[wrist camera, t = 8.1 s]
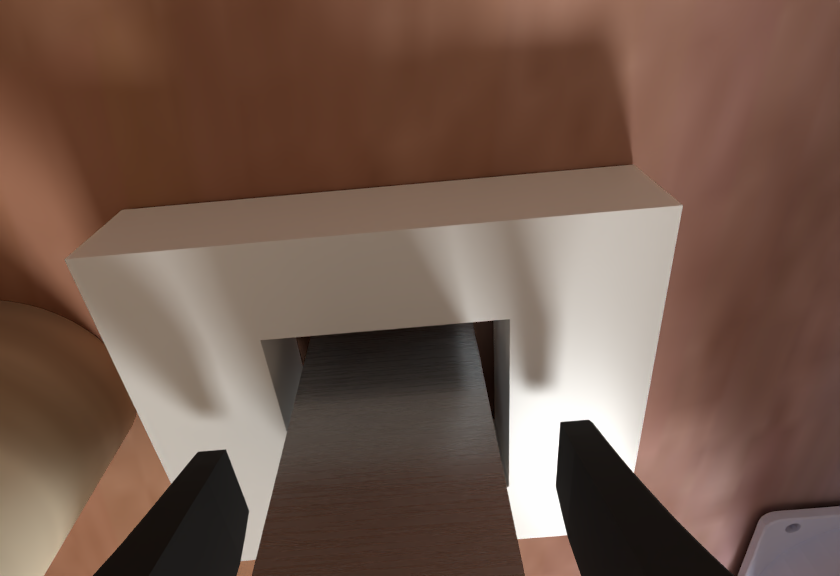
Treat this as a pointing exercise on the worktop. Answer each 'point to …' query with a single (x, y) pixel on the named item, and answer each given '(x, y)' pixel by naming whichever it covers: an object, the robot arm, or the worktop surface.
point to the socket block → (389, 310)
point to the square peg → (391, 463)
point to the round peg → (52, 431)
